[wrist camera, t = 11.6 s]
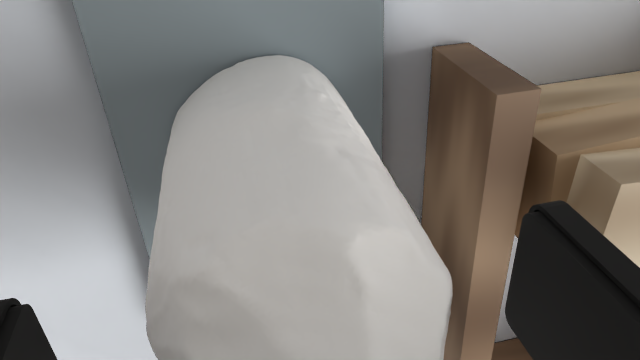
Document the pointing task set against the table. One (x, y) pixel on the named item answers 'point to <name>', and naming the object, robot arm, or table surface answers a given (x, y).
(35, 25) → the table surface
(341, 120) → the white tall rounded lump
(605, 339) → the robot arm
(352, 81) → the mat
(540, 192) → the offcut stack
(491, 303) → the rack
